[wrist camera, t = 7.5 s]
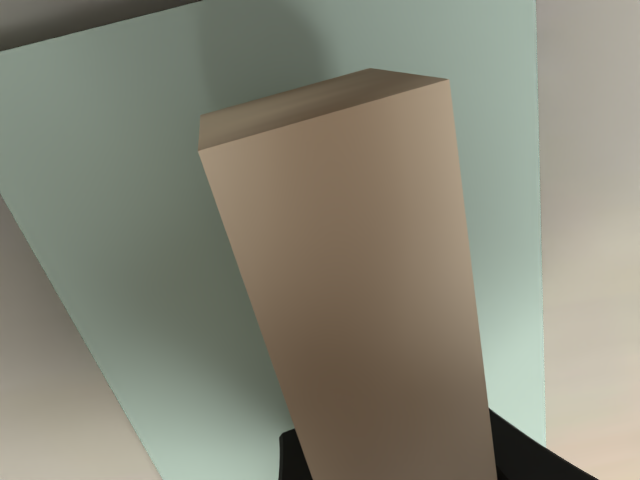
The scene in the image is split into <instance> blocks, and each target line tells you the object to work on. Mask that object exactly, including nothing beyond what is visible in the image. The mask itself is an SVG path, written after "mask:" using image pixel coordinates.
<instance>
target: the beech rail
mask: <svg viewBox="0 0 640 480" xmlns="http://www.w3.org/2000/svg"><path fill="white" fill-rule="evenodd" d="M198 153H199V156H200V159H201V162H202V164H203V167H204V170H205V173H206V176H207V179H208V182H209V184H210V187H211V190H212V193H213V196H214V199H215V202H216V204H217V207H218V210H219V213H220V216H221V219H222V222H223V224H224V227H225V230H226V233H227V236H228V239H229V242H230V244H231V247H232V250H233V253H234V256H235V259H236V262H237V264H238V267H239V270H240V273H241V276H242V279H243V282H244V284H245V287H246V290H247V293H248V296H249V299H250V302H251V304H252V307H253V310H254V313H255V316H256V319H257V322H258V324H259V327H260V330H261V333H262V336H263V339H264V341H265V344H266V347H267V350H268V353H269V356H270V359H271V361H272V364H273V367H274V370H275V373H276V376H277V379H278V381H279V384H280V387H281V390H282V393H283V396H284V399H285V401H286V404H287V407H288V410H289V413H290V416H291V419H292V421H293V424H294V427H295V430H296V433H297V436H298V439H299V441H300V444H301V447H302V450H303V453H304V456H305V459H306V461H307V464H308V467H309V470H310V473H311V476H312V479H313V480H497V473H496V464H495V456H494V448H493V439H492V431H491V423H490V414H489V406H488V398H487V389H486V381H485V373H484V364H483V356H482V348H481V339H480V331H479V323H478V314H477V306H476V298H475V289H474V281H473V273H472V264H471V256H470V247H469V239H468V231H467V222H466V214H465V206H464V197H463V189H462V181H461V172H460V164H459V156H458V147H457V139H456V131H455V122H454V114H453V106H452V97H451V89H450V81H449V79H445V78H438V77H431V76H424V75H417V74H410V73H402V72H395V71H388V70H381V69H374V68H368V69H364V70H361V71H357V72H353V73H350V74H346V75H343V76H339V77H335V78H332V79H328V80H325V81H321V82H317V83H314V84H310V85H307V86H303V87H299V88H296V89H292V90H289V91H285V92H281V93H278V94H274V95H271V96H267V97H263V98H260V99H256V100H253V101H249V102H245V103H242V104H238V105H235V106H231V107H227V108H224V109H220V110H217V111H213V112H209V113H206V114H202V115H200V127H199V141H198Z"/></svg>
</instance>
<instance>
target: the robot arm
mask: <svg viewBox="0 0 640 480" xmlns="http://www.w3.org/2000/svg"><path fill="white" fill-rule="evenodd" d="M489 414H490V423H491V431H492V439H493V448H494V456H495V464H496V473H497V480H598V479H597V478H595V477H593V476H591V475H590V474H588V473H586V472H584V471H582V470H581V469H579V468H577V467H576V466H574V465H572V464H571V463H569V462H567V461H566V460H564V459H563V458H561V457H559V456H558V455H556V454H555V453H553V452H552V451H550V450H548V449H547V448H545V447H544V446H542V445H541V444H539V443H538V442H536V441H535V440H533V439H532V438H530V437H529V436H527V435H526V434H524V433H523V432H522V431H520V430H519V429H517V428H516V427H515V426H513V425H512V424H510V423H509V422H508V421H506V420H505V419H503V418H502V417H501V416H499V415H498V414H497V413H495V412H494V411H493V410H491V409H490V408H489ZM279 446H280V459H279V477H278V480H313V479H312V476H311V473H310V470H309V467H308V464H307V461H306V459H305V456H304V453H303V450H302V447H301V444H300V441H299V439H298V436H297V433H296V430H295V428H294V429H291V430H289V431H286V432H283V433H282V434H281V435H280V437H279Z"/></svg>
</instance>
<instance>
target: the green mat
mask: <svg viewBox="0 0 640 480" xmlns="http://www.w3.org/2000/svg"><path fill="white" fill-rule="evenodd" d="M368 68H374V69H381V70H388V71H395V72H402V73H410V74H417V75H424V76H431V77H438V78H445V79H449V81H450V89H451V97H452V106H453V114H454V122H455V131H456V139H457V147H458V156H459V164H460V172H461V181H462V189H463V197H464V206H465V214H466V222H467V231H468V239H469V247H470V256H471V264H472V273H473V281H474V289H475V298H476V306H477V314H478V323H479V331H480V339H481V348H482V356H483V364H484V373H485V381H486V389H487V398H488V406H489V408H490V409H491V410H493V411H494V412H495V413H497V414H498V415H499V416H501V417H502V418H503V419H505V420H506V421H508V422H509V423H510V424H512V425H513V426H515V427H516V428H517V429H519V430H520V431H522V432H523V433H524V434H526V435H527V436H529V437H530V438H532V439H533V440H535V441H536V442H538V443H539V444H541V445H542V446H544V447H545V448H546V423H545V380H544V336H543V292H542V249H541V205H540V162H539V118H538V74H537V31H536V0H203V1H199V2H195V3H191V4H187V5H183V6H179V7H175V8H171V9H167V10H163V11H159V12H155V13H151V14H147V15H143V16H139V17H135V18H132V19H128V20H124V21H120V22H116V23H112V24H108V25H104V26H100V27H96V28H92V29H88V30H84V31H80V32H76V33H72V34H68V35H64V36H60V37H56V38H52V39H48V40H45V41H41V42H37V43H33V44H29V45H25V46H21V47H17V48H13V49H9V50H5V51H1V52H0V194H1V196H2V198H3V200H4V201H5V203H6V205H7V207H8V208H9V210H10V212H11V214H12V215H13V217H14V219H15V221H16V222H17V224H18V226H19V228H20V229H21V231H22V233H23V235H24V237H25V238H26V240H27V242H28V244H29V245H30V247H31V249H32V251H33V252H34V254H35V256H36V258H37V259H38V261H39V263H40V265H41V266H42V268H43V270H44V272H45V273H46V275H47V277H48V279H49V280H50V282H51V284H52V286H53V288H54V289H55V291H56V293H57V295H58V296H59V298H60V300H61V302H62V303H63V305H64V307H65V309H66V310H67V312H68V314H69V316H70V317H71V319H72V321H73V323H74V324H75V326H76V328H77V330H78V331H79V333H80V335H81V337H82V339H83V340H84V342H85V344H86V346H87V347H88V349H89V351H90V353H91V354H92V356H93V358H94V360H95V361H96V363H97V365H98V367H99V368H100V370H101V372H102V374H103V375H104V377H105V379H106V381H107V382H108V384H109V386H110V388H111V390H112V391H113V393H114V395H115V397H116V398H117V400H118V402H119V404H120V405H121V407H122V409H123V411H124V412H125V414H126V416H127V418H128V419H129V421H130V423H131V425H132V426H133V428H134V430H135V432H136V433H137V435H138V437H139V439H140V441H141V442H142V444H143V446H144V448H145V449H146V451H147V453H148V455H149V456H150V458H151V460H152V462H153V463H154V465H155V467H156V469H157V470H158V472H159V474H160V476H161V477H162V479H163V480H278V477H279V459H280V446H279V437H280V435H281V434H282V433H283V432H286V431H289V430H291V429H294V428H295V427H294V424H293V421H292V419H291V416H290V413H289V410H288V407H287V404H286V401H285V399H284V396H283V393H282V390H281V387H280V384H279V381H278V379H277V376H276V373H275V370H274V367H273V364H272V361H271V359H270V356H269V353H268V350H267V347H266V344H265V341H264V339H263V336H262V333H261V330H260V327H259V324H258V322H257V319H256V316H255V313H254V310H253V307H252V304H251V302H250V299H249V296H248V293H247V290H246V287H245V284H244V282H243V279H242V276H241V273H240V270H239V267H238V264H237V262H236V259H235V256H234V253H233V250H232V247H231V244H230V242H229V239H228V236H227V233H226V230H225V227H224V224H223V222H222V219H221V216H220V213H219V210H218V207H217V204H216V202H215V199H214V196H213V193H212V190H211V187H210V184H209V182H208V179H207V176H206V173H205V170H204V167H203V164H202V162H201V159H200V156H199V153H198V141H199V127H200V115H202V114H206V113H209V112H213V111H217V110H220V109H224V108H227V107H231V106H235V105H238V104H242V103H245V102H249V101H253V100H256V99H260V98H263V97H267V96H271V95H274V94H278V93H281V92H285V91H289V90H292V89H296V88H299V87H303V86H307V85H310V84H314V83H317V82H321V81H325V80H328V79H332V78H335V77H339V76H343V75H346V74H350V73H353V72H357V71H361V70H364V69H368Z"/></svg>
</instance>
